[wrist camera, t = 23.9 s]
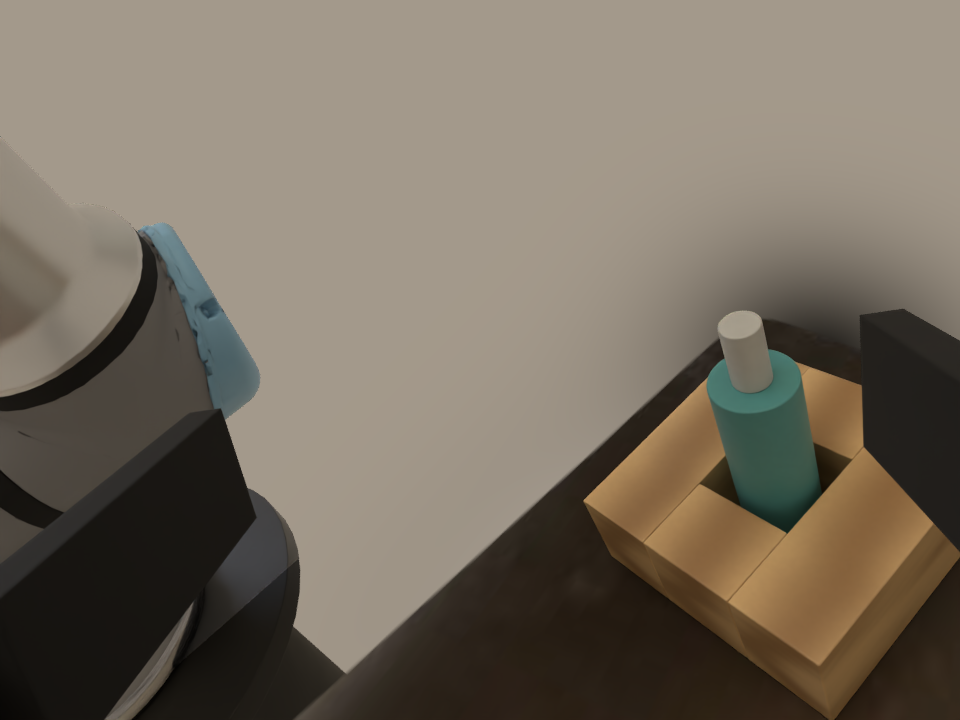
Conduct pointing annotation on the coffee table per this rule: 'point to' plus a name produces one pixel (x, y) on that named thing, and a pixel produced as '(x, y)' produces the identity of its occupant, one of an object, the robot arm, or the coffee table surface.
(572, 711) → the coffee table surface
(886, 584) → the holder
